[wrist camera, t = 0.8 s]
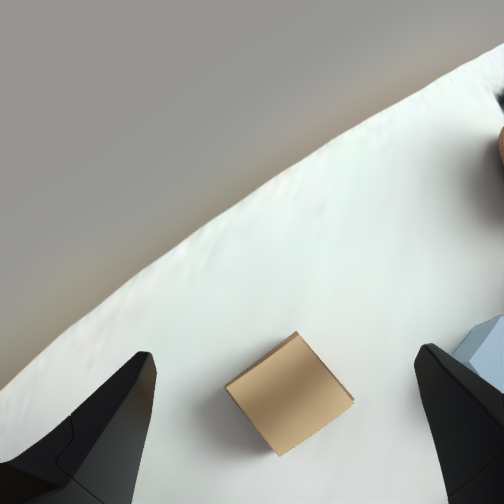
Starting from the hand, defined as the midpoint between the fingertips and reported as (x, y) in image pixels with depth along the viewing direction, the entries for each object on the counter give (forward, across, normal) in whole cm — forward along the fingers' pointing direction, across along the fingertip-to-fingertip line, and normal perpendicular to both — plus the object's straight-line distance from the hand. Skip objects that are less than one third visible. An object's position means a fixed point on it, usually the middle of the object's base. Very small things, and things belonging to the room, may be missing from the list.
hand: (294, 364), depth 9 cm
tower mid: (+8, -2, +12) cm, 14 cm away
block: (+8, -19, +11) cm, 23 cm away
